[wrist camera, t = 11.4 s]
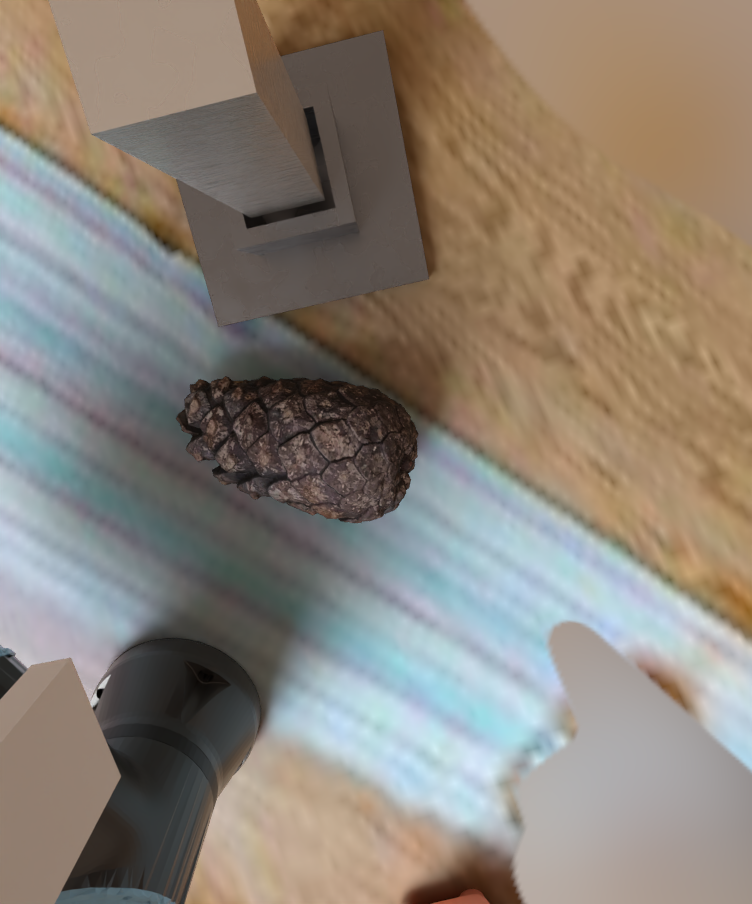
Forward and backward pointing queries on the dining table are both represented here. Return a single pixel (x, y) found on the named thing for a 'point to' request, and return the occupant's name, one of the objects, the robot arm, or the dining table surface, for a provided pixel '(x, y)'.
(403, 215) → the stand base
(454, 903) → the teapot
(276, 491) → the pine cone
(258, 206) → the column
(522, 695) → the dining table surface
